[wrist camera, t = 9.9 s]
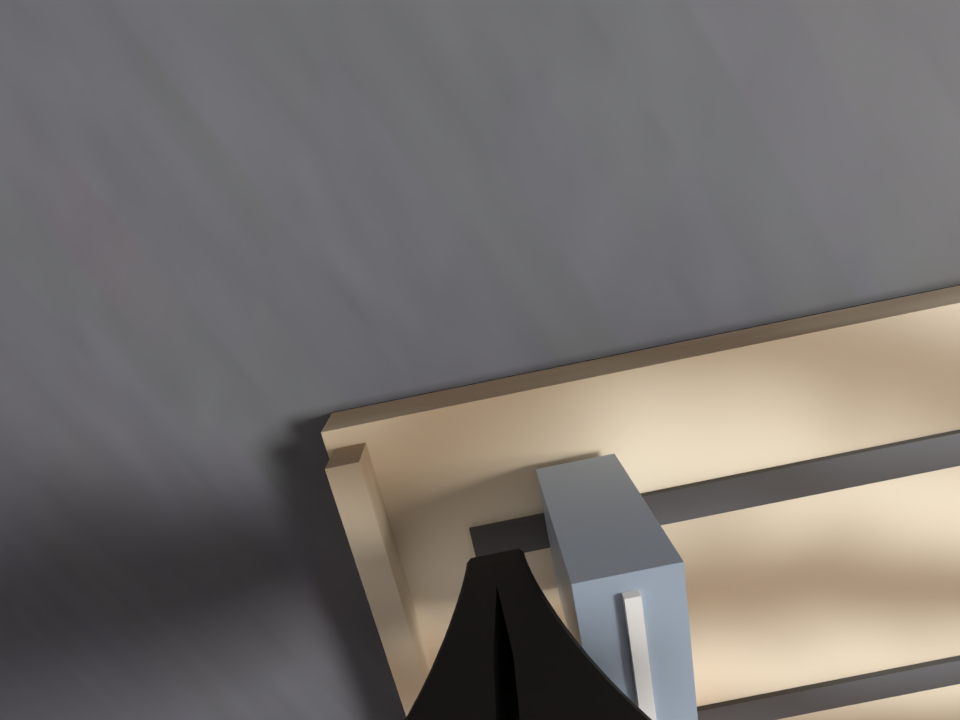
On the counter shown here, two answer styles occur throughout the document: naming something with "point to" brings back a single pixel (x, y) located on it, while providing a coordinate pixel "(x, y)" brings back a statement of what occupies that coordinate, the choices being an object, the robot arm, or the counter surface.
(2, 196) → the counter surface
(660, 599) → the slate fader
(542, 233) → the counter surface
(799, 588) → the birch console
